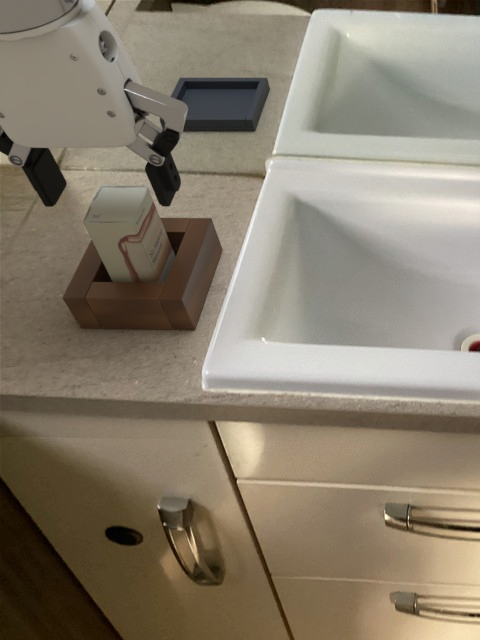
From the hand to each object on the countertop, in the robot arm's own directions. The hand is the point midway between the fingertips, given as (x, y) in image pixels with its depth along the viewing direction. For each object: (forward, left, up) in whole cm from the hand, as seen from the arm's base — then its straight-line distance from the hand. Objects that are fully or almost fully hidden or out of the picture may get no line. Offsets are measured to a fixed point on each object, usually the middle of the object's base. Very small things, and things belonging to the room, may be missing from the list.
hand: (113, 195), depth 66 cm
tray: (-1, +29, -11) cm, 31 cm away
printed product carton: (0, 0, -11) cm, 11 cm away
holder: (0, 0, -11) cm, 11 cm away
